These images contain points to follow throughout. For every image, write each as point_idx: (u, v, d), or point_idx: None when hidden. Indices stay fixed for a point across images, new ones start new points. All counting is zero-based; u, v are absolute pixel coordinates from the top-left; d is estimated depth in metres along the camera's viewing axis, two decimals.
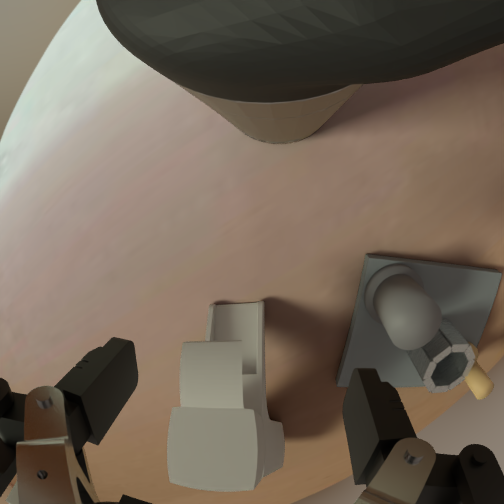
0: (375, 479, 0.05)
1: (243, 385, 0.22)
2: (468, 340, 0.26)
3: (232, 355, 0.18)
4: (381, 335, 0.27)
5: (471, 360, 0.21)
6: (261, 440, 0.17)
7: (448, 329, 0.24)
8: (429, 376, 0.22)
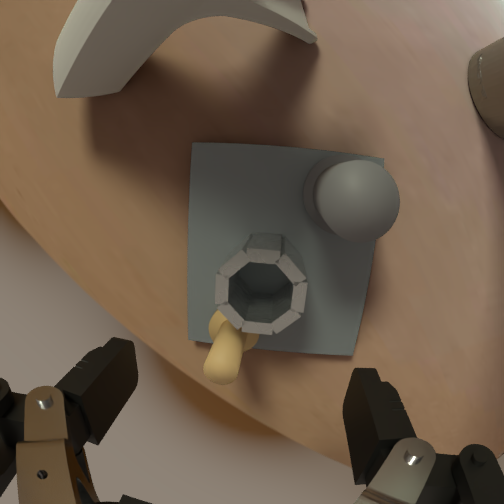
0: (375, 479, 0.05)
1: None
2: None
3: None
4: (279, 188, 0.22)
5: (271, 328, 0.19)
6: None
7: None
8: (251, 258, 0.18)
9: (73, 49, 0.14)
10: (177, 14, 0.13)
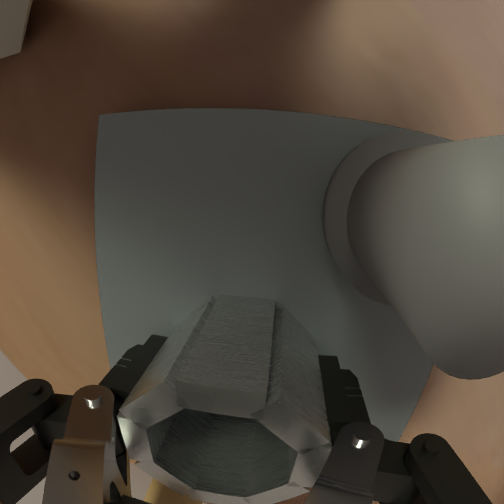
0: (326, 466, 0.05)
1: None
2: None
3: None
4: (272, 203, 0.10)
5: (248, 502, 0.07)
6: None
7: None
8: (190, 403, 0.06)
9: None
10: None
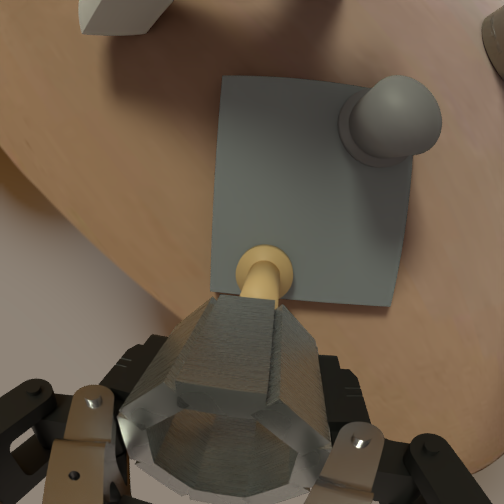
0: (326, 466, 0.05)
1: None
2: (294, 276, 0.22)
3: None
4: (314, 120, 0.19)
5: (248, 503, 0.07)
6: None
7: None
8: (190, 403, 0.06)
9: None
10: None
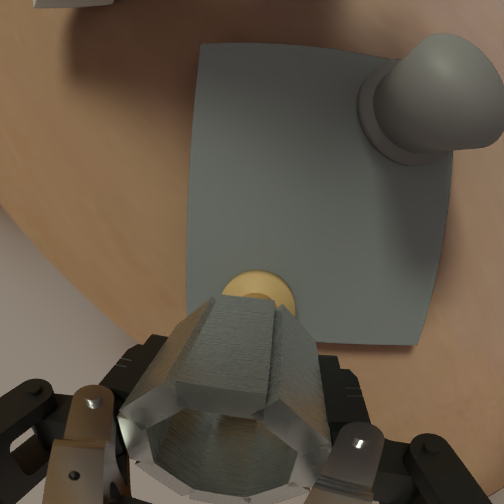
0: (326, 466, 0.05)
1: None
2: (296, 312, 0.17)
3: None
4: (324, 99, 0.14)
5: (248, 502, 0.07)
6: None
7: None
8: (190, 403, 0.06)
9: None
10: None
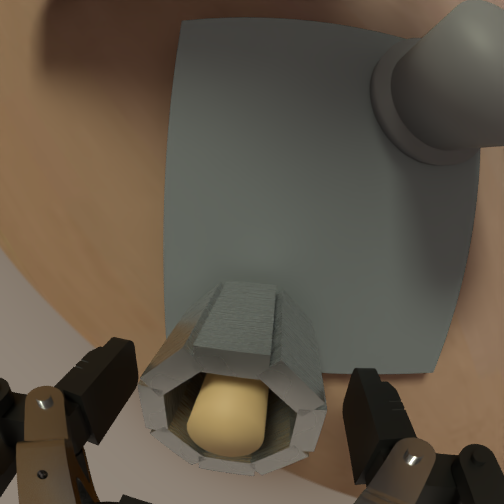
0: (375, 479, 0.05)
1: None
2: None
3: None
4: (331, 83, 0.11)
5: (252, 469, 0.08)
6: None
7: None
8: (204, 366, 0.07)
9: None
10: None
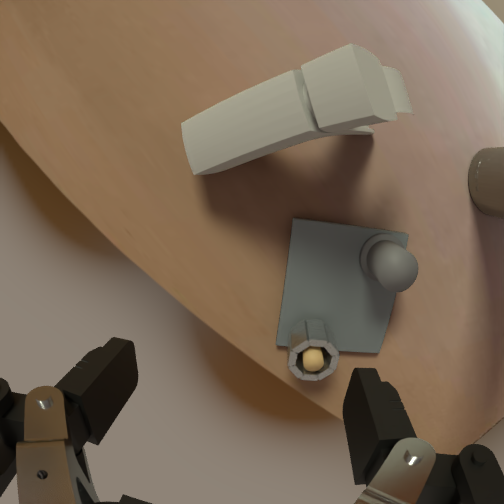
0: (375, 479, 0.05)
1: None
2: None
3: (410, 107, 0.22)
4: (346, 252, 0.34)
5: (317, 377, 0.32)
6: (361, 126, 0.21)
7: None
8: (311, 344, 0.31)
9: (228, 150, 0.26)
10: (311, 139, 0.25)
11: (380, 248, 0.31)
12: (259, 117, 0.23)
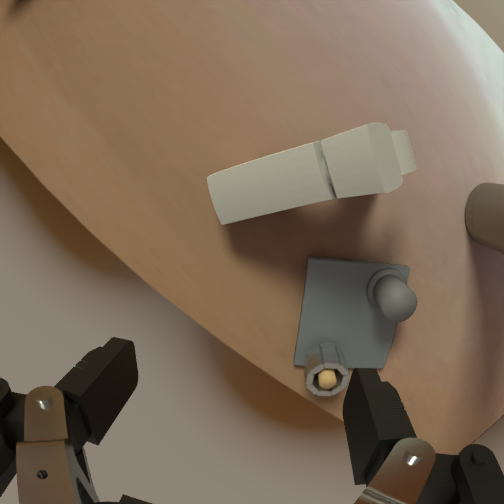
0: (375, 479, 0.05)
1: None
2: None
3: (414, 163, 0.26)
4: (355, 285, 0.39)
5: (330, 393, 0.36)
6: None
7: None
8: (325, 367, 0.35)
9: (255, 208, 0.31)
10: None
11: (385, 284, 0.35)
12: (283, 183, 0.27)
